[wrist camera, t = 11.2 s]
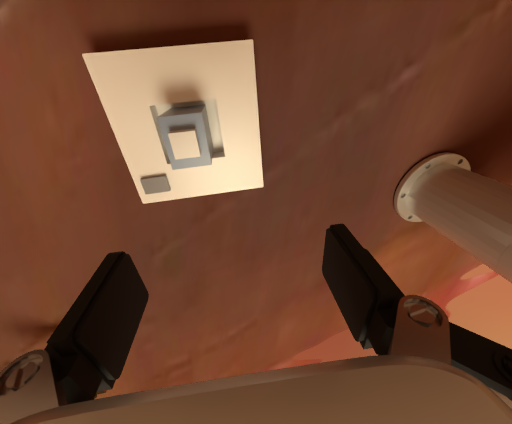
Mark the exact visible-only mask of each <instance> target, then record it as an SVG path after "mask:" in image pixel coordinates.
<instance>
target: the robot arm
mask: <svg viewBox="0 0 512 424" xmlns="http://www.w3.org/2000/svg"><path fill="white" fill-rule="evenodd" d="M394 207H395V210H396V212H397V213H398V215H400V216H401V217H402V218H403V219H405V220H407V221H411V222H421V221H424V222H425V223H427V224H428V225H430V226H431V227H432V228H434V229H435V230H437V231H438V232H439V233H441V234H442V235H444V236H445V237H447V238H448V239H449V240H451V241H452V242H454V243H455V244H456V245H458V246H459V247H461V248H462V249H464V250H465V251H466V252H468V253H469V254H471V255H472V256H474V257H475V258H476V259H478V260H479V261H481V262H482V263H483V264H485V265H486V266H488V267H489V268H491V269H492V270H493V271H495V272H496V273H498V274H499V275H501V276H502V277H504V278H505V279H506V280H508V281H509V282H511V283H512V186H509V185H507V184H504V183H501V182H499V181H496V180H495V179H494V178H488V177H485V176H483V175H480V174H477V173H475V172H472V171H471V168H470V164H469V162H468V161H467V159H466V158H465V157H463V156H461V155H458V154H455V153H449V152H445V153H439V154H435V155H432V156H430V157H428V158H426V159H424V160H423V161H421V162H419V163H418V164H417V165H415V166H414V167H413V168H412V169H411V170H410V171H409V172H408V173H407V174H406V175H405V176H404V178H403V179H402V181H401V182H400V184H399V186H398V188H397V190H396V193H395V196H394ZM322 272H323V275H324V278H325V280H326V282H327V284H328V286H329V288H330V290H331V292H332V294H333V296H334V298H335V300H336V302H337V304H338V306H339V308H340V310H341V313H342V315H343V317H344V319H345V321H346V323H347V325H348V327H349V329H350V331H351V333H352V335H353V337H354V339H355V340H356V341H357V342H359V341H360V343H361V345H362V347H363V349H368V348H373V349H374V351H375V353H376V354H378V356H367V357H359V358H352V359H345V360H337V361H330V362H323V363H317V364H310V365H304V366H297V367H291V368H284V369H278V370H271V371H265V372H258V373H252V374H246V375H240V376H233V377H227V378H221V379H215V380H208V381H202V382H196V383H190V384H184V385H178V386H172V387H165V388H159V389H153V390H147V391H141V392H135V393H129V394H123V395H117V396H112V397H106V398H101V399H95V400H94V397H95V395H96V393H97V391H103V390H110V389H112V388H113V385H114V383H115V380H116V379H118V378H119V377H120V375H121V373H122V370H123V367H124V365H125V362H126V359H127V356H128V354H129V351H130V348H131V345H132V343H133V340H134V337H135V334H136V332H137V329H138V326H139V323H140V321H141V318H142V315H143V312H144V310H145V307H146V304H147V301H148V291H147V289H146V287H145V285H144V283H143V281H142V279H141V277H140V275H139V273H138V271H137V269H136V267H135V265H134V263H133V261H132V259H131V257H130V255H129V254H126V253H125V252H114V253H109V254H108V255H107V256H106V257H105V259H104V260H103V262H102V263H101V264H100V266H99V267H98V269H97V270H96V272H95V273H94V275H93V276H92V277H91V279H90V280H89V282H88V283H87V285H86V286H85V288H84V289H83V290H82V292H81V293H80V295H79V296H78V298H77V299H76V301H75V302H74V304H73V305H72V306H71V308H70V309H69V311H68V312H67V314H66V315H65V317H64V318H63V319H62V321H61V322H60V324H59V325H58V327H57V328H56V330H55V331H54V332H53V334H52V335H51V337H50V338H49V340H48V341H47V343H48V346H47V347H46V349H45V350H42V349H39V350H33V351H30V352H27V353H25V354H23V355H21V356H19V357H18V358H16V359H15V360H13V361H12V362H11V363H9V364H8V365H7V366H6V367H5V368H4V369H3V370H2V371H1V372H0V424H512V349H510V348H507V347H505V346H503V345H501V344H498V343H496V342H494V341H491V340H489V339H487V338H485V337H482V336H480V335H478V334H476V333H473V332H471V331H469V330H466V329H464V328H462V327H460V326H457V325H455V324H452V323H450V322H449V321H448V317H447V315H446V314H445V312H444V311H443V310H442V309H441V308H440V307H439V306H438V305H437V304H435V303H434V302H432V301H431V300H429V299H427V298H424V297H421V296H417V295H407V296H405V295H404V294H403V293H402V292H401V290H400V289H399V288H398V287H397V286H396V284H395V283H394V282H393V281H392V279H391V278H390V277H389V276H388V275H387V273H386V272H385V271H384V270H383V268H382V267H381V266H380V265H379V264H378V262H377V261H376V260H375V259H374V257H373V256H372V255H371V254H370V253H369V251H368V250H366V249H364V248H363V247H362V246H361V245H360V243H359V242H358V241H357V240H356V238H355V237H354V236H353V235H352V233H351V232H350V231H349V230H348V228H347V227H346V226H345V225H344V224H335V225H331V226H330V228H328V229H327V230H326V238H325V247H324V256H323V265H322Z"/></svg>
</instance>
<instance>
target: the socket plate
mask: <svg viewBox="0 0 512 424" xmlns="http://www.w3.org/2000/svg"><path fill="white" fill-rule="evenodd" d="M82 56H83V58H84V61H85V63H86V66H87V68H88V71H89V73H90V75H91V78H92V80H93V83H94V85H95V88H96V90H97V93H98V95H99V97H100V100H101V102H102V105H103V107H104V110H105V112H106V114H107V117H108V119H109V122H110V124H111V127H112V129H113V132H114V134H115V136H116V139H117V141H118V144H119V146H120V149H121V151H122V154H123V156H124V158H125V161H126V163H127V166H128V168H129V171H130V173H131V175H132V178H133V180H134V183H135V185H136V188H137V190H138V193H139V195H140V197H141V200H142V202H143V204H144V203H152V202H159V201H166V200H173V199H180V198H188V197H195V196H202V195H209V194H216V193H224V192H231V191H238V190H245V189H252V188H260V187H263V174H262V160H261V146H260V132H259V117H258V103H257V89H256V75H255V61H254V47H253V39H251V40H239V41H227V42H216V43H204V44H192V45H180V46H169V47H157V48H145V49H133V50H122V51H110V52H98V53H87V54H82ZM195 105H206V111H207V116H208V122H209V127H210V132H211V138H212V143H213V155H212V165H207V166H199V167H191V168H184V169H176V170H172V167H171V163H170V160H169V157H168V153H167V150H166V147H165V143H164V140H163V137H162V133H161V130H160V127H159V123H158V120H157V117H158V116H160V115H161V114H163V113H164V112H166V111H167V110H169V109H170V108H176V107H186V106H195Z"/></svg>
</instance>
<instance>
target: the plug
mask: <svg viewBox="0 0 512 424" xmlns="http://www.w3.org/2000/svg"><path fill="white" fill-rule="evenodd" d="M157 120H158V123H159V127H160V130H161V133H162V137H163V140H164V143H165V147H166V150H167V153H168V157H169V160H170V163H171V167H172V170H176V169H184V168H191V167H199V166H207V165H212V155H213V143H212V138H211V132H210V127H209V122H208V116H207V111H206V105H195V106H186V107H176V108H170V109H169V110H167V111H166V112H164V113H163V114H161V115H160V116H158V117H157Z"/></svg>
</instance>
